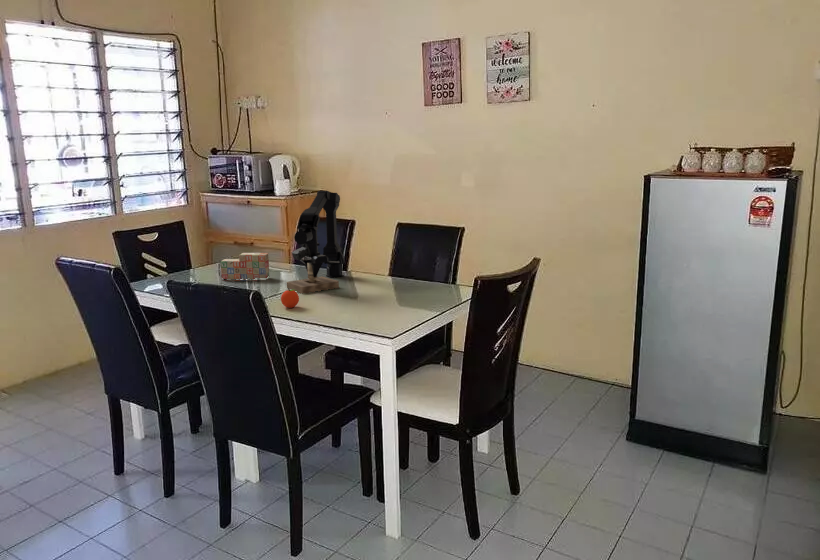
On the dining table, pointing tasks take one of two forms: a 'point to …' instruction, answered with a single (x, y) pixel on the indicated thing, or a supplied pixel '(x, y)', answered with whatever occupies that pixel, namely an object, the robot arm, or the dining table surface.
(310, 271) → the peg
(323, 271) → the dining table surface
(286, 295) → the clementine
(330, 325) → the dining table surface
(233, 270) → the stack of blocks
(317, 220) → the robot arm
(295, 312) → the dining table surface
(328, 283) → the board
